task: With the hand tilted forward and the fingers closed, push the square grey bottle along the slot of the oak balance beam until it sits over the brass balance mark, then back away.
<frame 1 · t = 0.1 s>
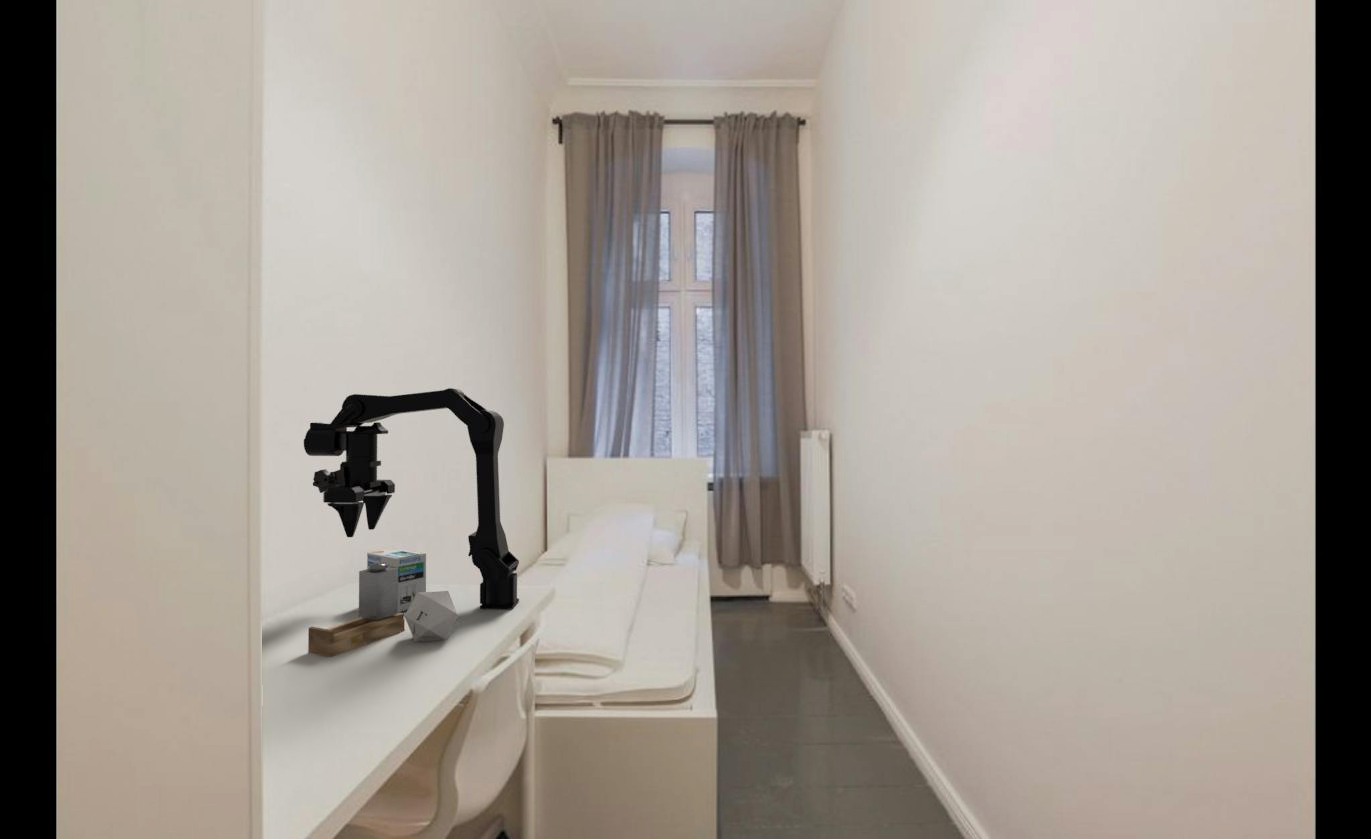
hand: (361, 533, 136), 15 cm above the table, tool pointing down, fingers open, 9 cm apart
square grey bottle: (378, 592, 118), point 7 cm above the table, slide at -4.0 cm
light bulb box: (396, 606, 137), on the table
die: (431, 639, 116), on the table
beam: (358, 640, 115), on the table
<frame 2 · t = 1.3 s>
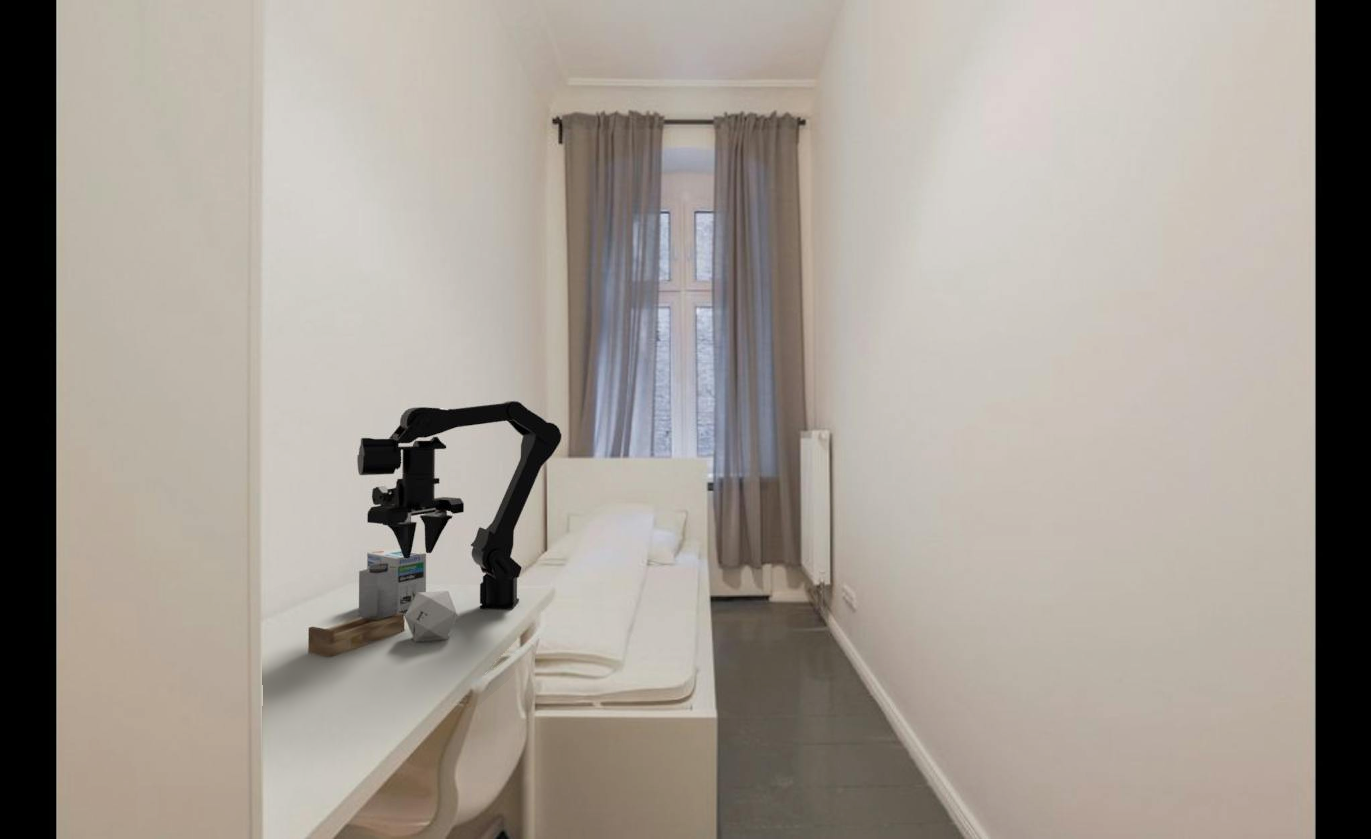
hand: (417, 555, 128), 12 cm above the table, tool pointing down, fingers open, 5 cm apart
nothing on the table moved.
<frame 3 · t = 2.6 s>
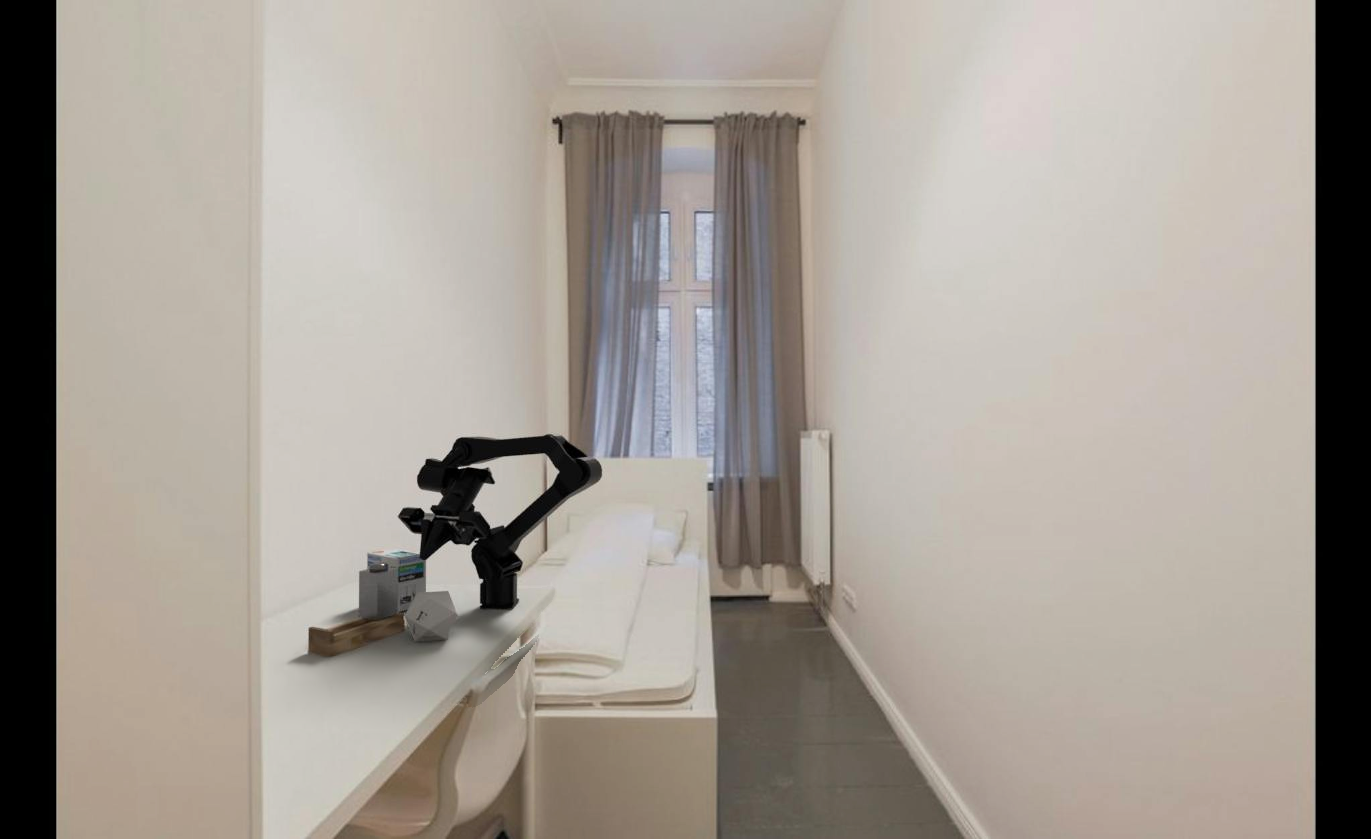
hand: (422, 559, 127), 11 cm above the table, tool tilted 45°, fingers closed
nothing on the table moved.
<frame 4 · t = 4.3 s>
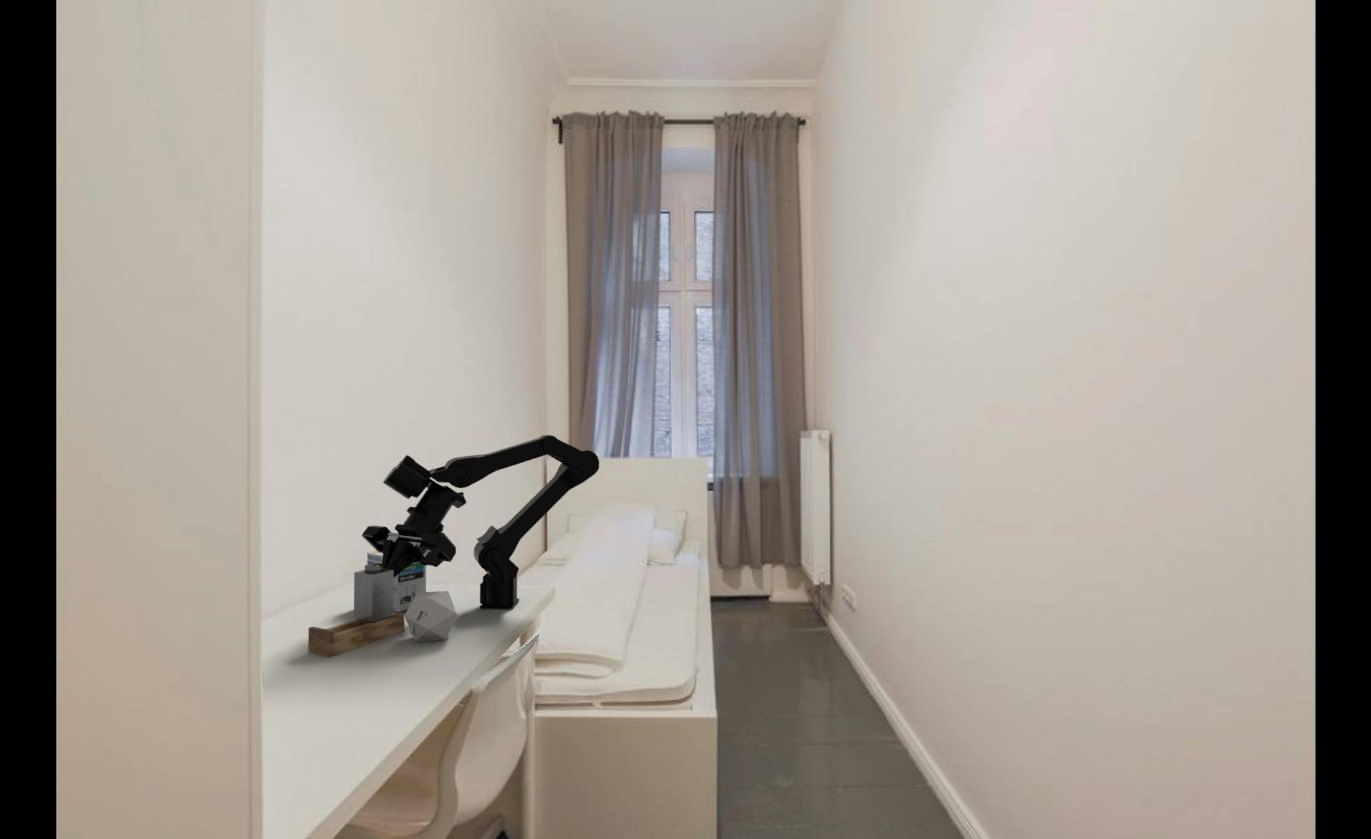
hand: (382, 582, 120), 9 cm above the table, tool tilted 45°, fingers closed, pressing on square grey bottle
square grey bottle: (373, 593, 117), point 7 cm above the table, slide at -3.0 cm, touching gripper
everything else where it was.
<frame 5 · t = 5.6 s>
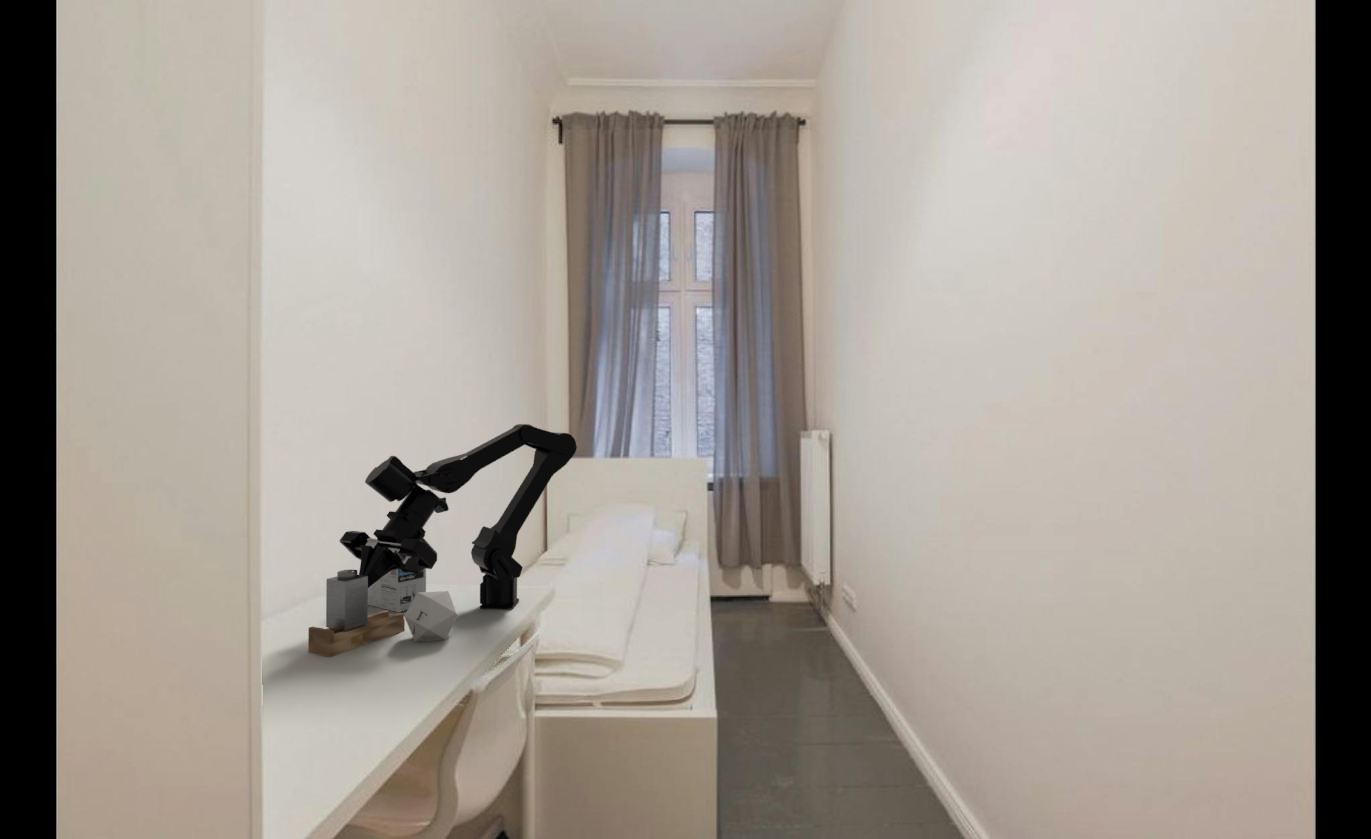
hand: (359, 590, 115), 9 cm above the table, tool tilted 45°, fingers closed, pressing on square grey bottle
square grey bottle: (347, 601, 112), point 7 cm above the table, slide at 2.4 cm, touching gripper
everything else where it was.
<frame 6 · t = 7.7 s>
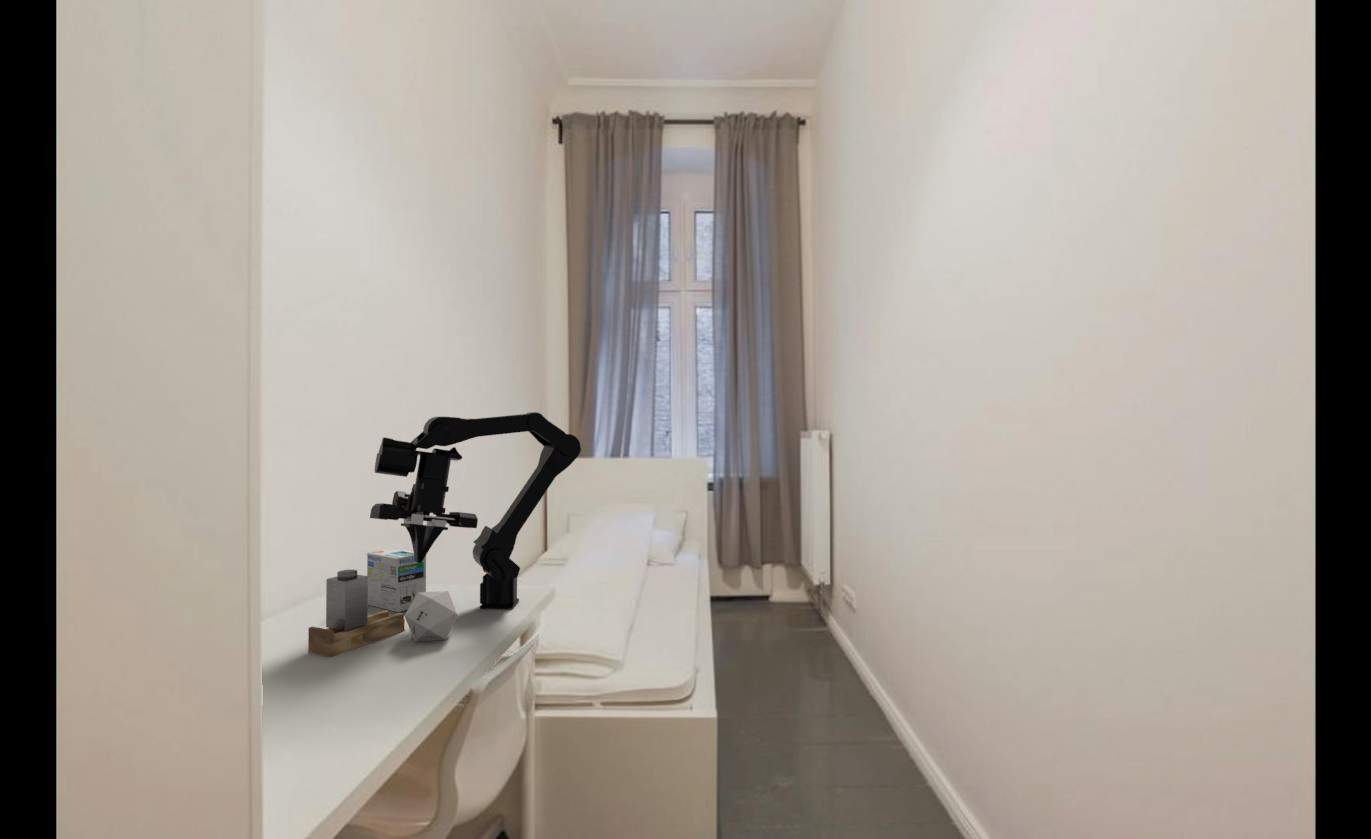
hand: (418, 562, 127), 11 cm above the table, tool pointing down, fingers closed
square grey bottle: (347, 601, 112), point 7 cm above the table, slide at 2.4 cm
everything else where it was.
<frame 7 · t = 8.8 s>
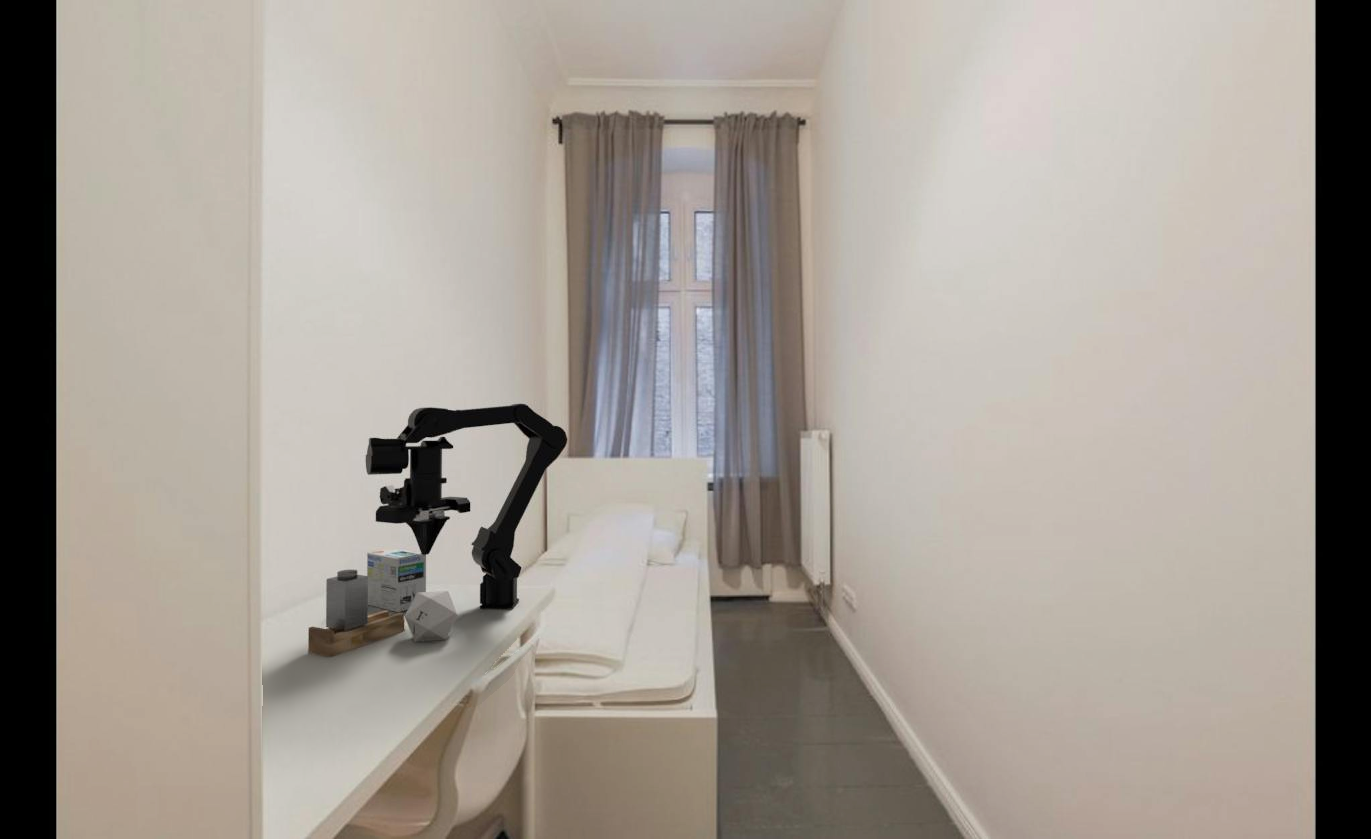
hand: (425, 554, 128), 12 cm above the table, tool pointing down, fingers closed
nothing on the table moved.
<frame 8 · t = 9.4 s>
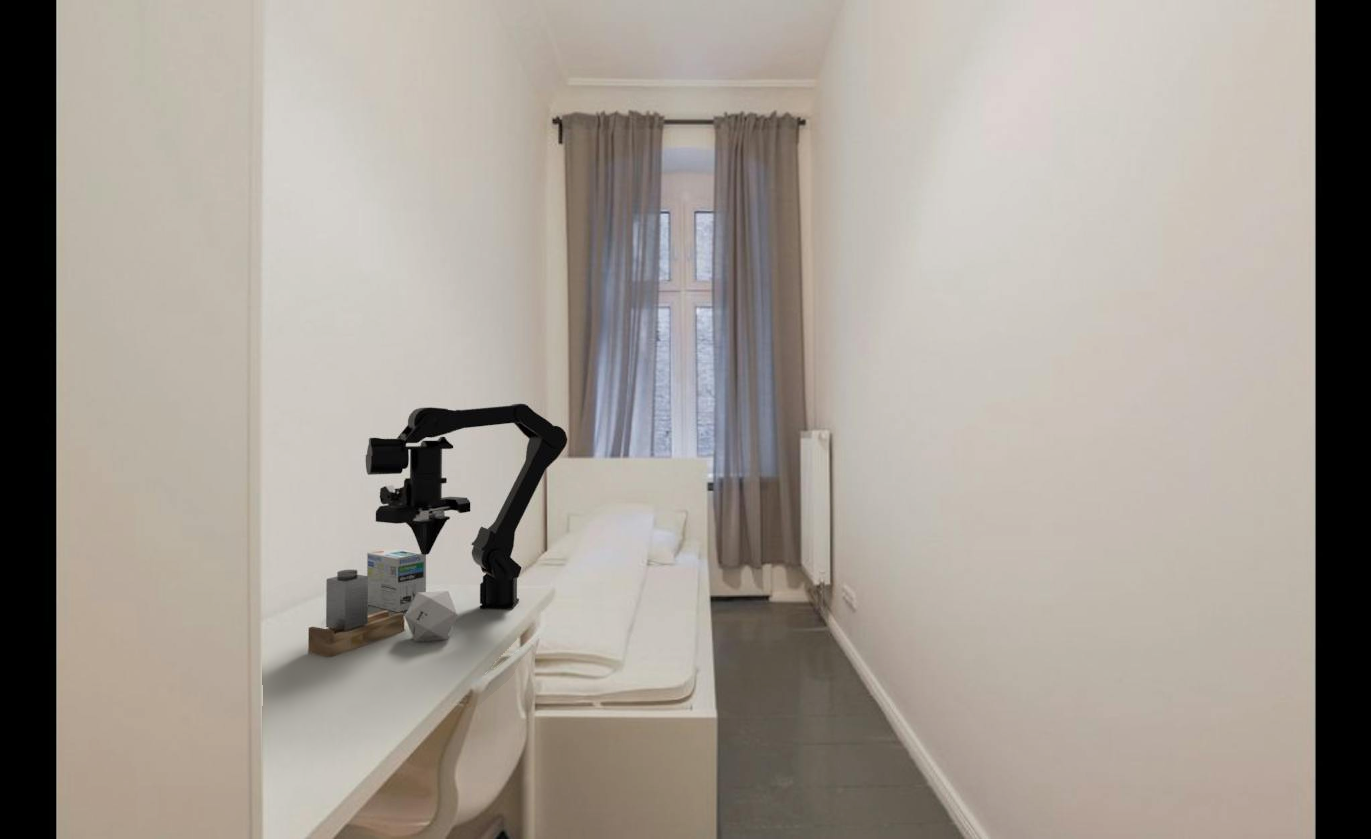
hand: (425, 554, 128), 12 cm above the table, tool pointing down, fingers closed
nothing on the table moved.
at the end: square grey bottle slide at 2.4 cm; the gripper is holding nothing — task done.
